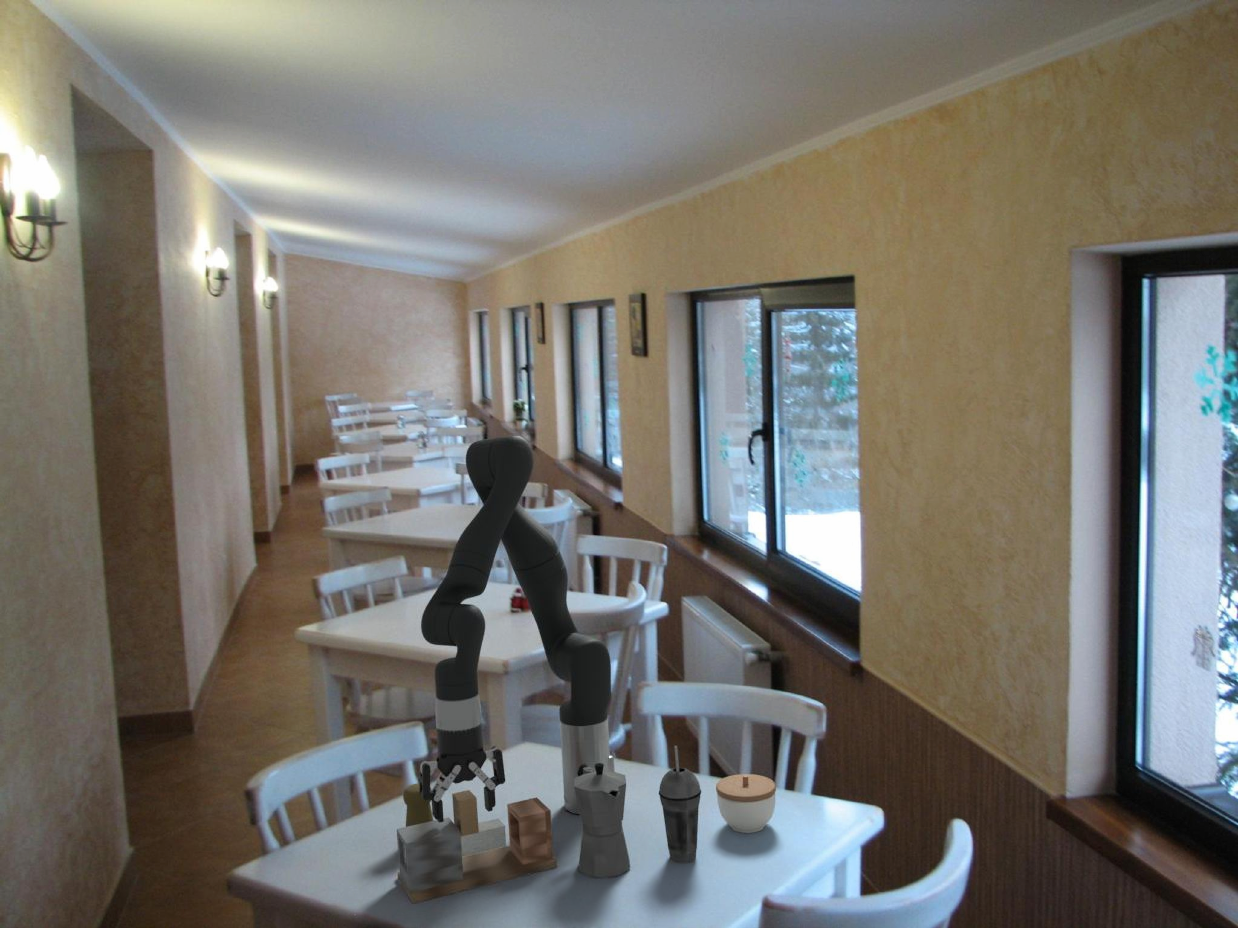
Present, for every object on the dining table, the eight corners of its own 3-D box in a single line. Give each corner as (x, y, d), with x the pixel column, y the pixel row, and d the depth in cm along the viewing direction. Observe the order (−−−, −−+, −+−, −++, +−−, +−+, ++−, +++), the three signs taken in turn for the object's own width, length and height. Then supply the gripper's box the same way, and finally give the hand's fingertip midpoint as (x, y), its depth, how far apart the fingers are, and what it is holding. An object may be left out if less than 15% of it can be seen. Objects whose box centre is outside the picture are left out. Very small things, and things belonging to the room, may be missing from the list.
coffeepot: (646, 875, 184) (641, 770, 182) (594, 888, 180) (588, 781, 178) (608, 840, 198) (603, 742, 196) (559, 852, 194) (553, 752, 192)
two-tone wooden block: (498, 837, 191) (495, 784, 190) (506, 846, 188) (503, 791, 187) (403, 860, 184) (399, 804, 183) (409, 870, 181) (405, 813, 180)
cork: (431, 852, 197) (426, 792, 196) (399, 851, 198) (394, 791, 197) (443, 837, 202) (439, 779, 201) (411, 836, 204) (407, 778, 203)
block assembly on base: (536, 844, 198) (533, 793, 197) (557, 866, 189) (554, 813, 188) (397, 878, 187) (394, 825, 186) (413, 903, 178) (409, 847, 177)
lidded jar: (750, 808, 208) (748, 760, 208) (789, 827, 200) (787, 776, 199) (705, 824, 203) (703, 774, 202) (744, 844, 194) (742, 792, 193)
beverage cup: (708, 849, 192) (703, 737, 190) (698, 868, 185) (692, 752, 183) (668, 845, 194) (663, 735, 193) (656, 864, 188) (650, 749, 186)
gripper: (492, 708, 191) (497, 799, 193) (411, 722, 185) (417, 816, 187) (506, 719, 184) (512, 814, 186) (423, 735, 179) (429, 832, 180)
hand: (464, 815), depth 186 cm, fingers open, 8 cm apart
